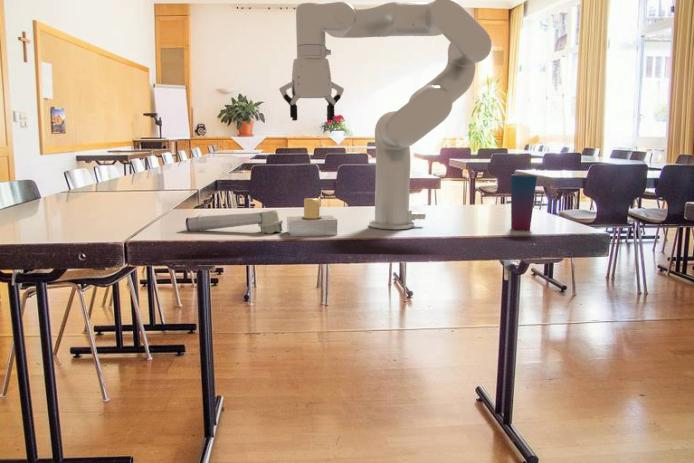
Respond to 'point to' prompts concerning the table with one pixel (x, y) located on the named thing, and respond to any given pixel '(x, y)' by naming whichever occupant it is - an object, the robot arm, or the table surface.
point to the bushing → (311, 208)
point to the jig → (311, 226)
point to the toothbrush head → (236, 221)
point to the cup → (522, 200)
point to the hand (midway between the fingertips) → (312, 120)
